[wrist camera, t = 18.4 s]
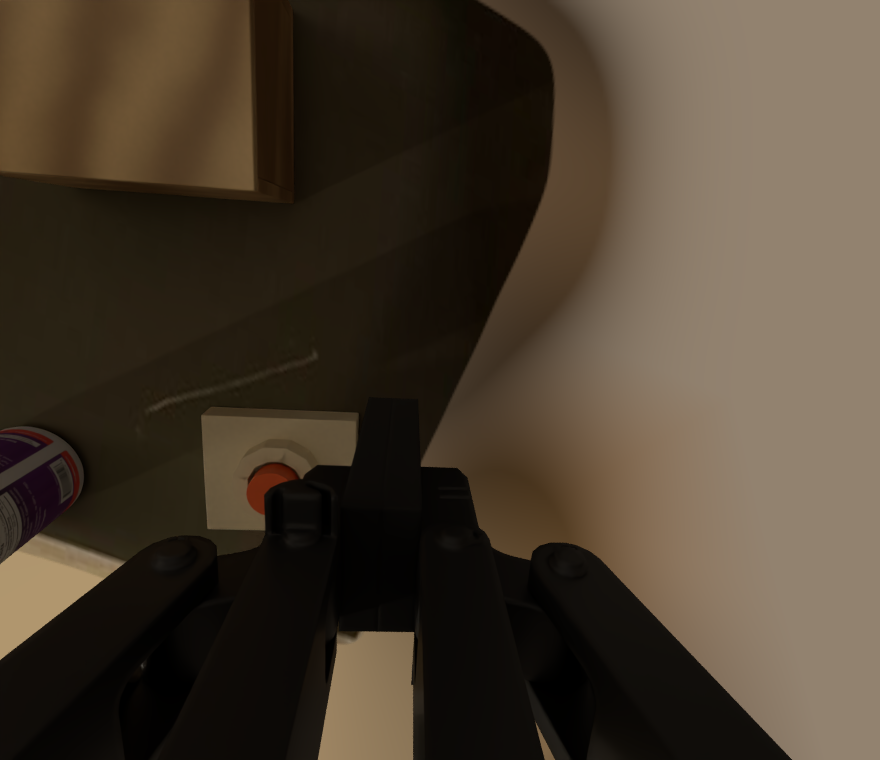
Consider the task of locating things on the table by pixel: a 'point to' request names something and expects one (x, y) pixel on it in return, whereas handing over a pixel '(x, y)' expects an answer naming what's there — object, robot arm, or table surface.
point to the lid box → (270, 119)
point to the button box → (266, 453)
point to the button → (266, 483)
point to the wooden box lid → (130, 91)
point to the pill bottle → (34, 483)
